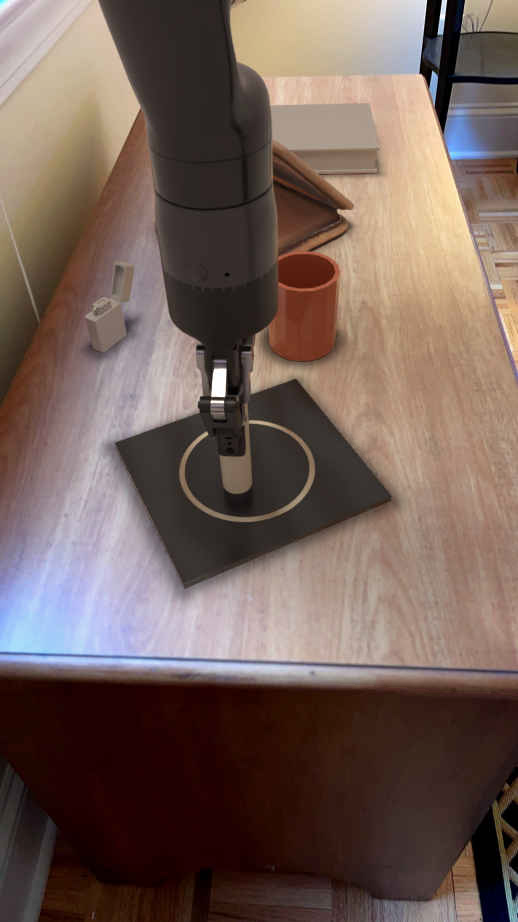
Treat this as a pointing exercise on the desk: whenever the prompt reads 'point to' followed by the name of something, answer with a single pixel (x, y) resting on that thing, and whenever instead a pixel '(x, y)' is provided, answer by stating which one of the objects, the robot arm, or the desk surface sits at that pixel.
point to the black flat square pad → (273, 480)
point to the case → (304, 204)
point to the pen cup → (305, 306)
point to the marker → (238, 473)
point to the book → (328, 136)
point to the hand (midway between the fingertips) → (234, 438)
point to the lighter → (111, 310)
